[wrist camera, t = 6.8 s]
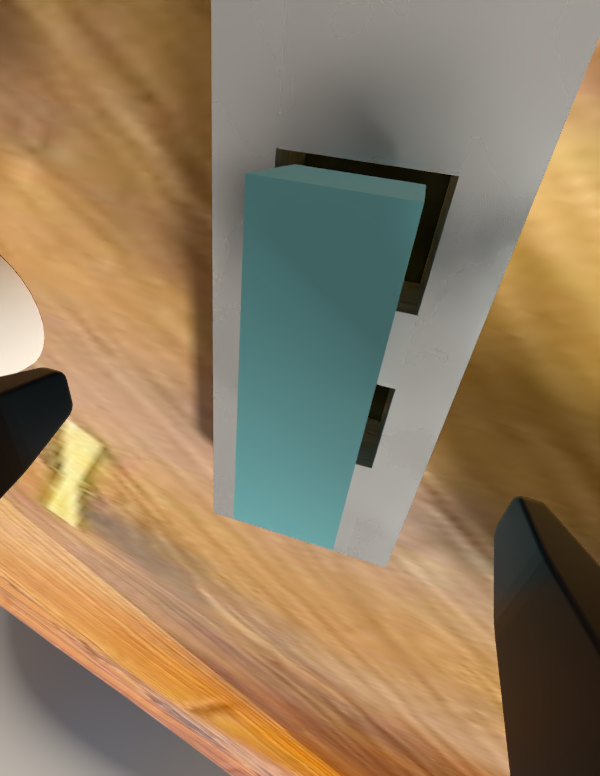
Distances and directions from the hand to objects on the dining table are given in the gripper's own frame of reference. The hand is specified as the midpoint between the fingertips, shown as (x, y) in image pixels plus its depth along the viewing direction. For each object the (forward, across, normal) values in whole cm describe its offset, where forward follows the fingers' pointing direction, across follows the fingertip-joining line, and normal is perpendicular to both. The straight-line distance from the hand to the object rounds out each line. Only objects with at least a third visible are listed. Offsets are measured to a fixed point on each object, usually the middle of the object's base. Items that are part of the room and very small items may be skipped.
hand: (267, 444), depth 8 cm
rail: (+8, 0, 0) cm, 9 cm away
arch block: (+8, 0, 0) cm, 9 cm away
